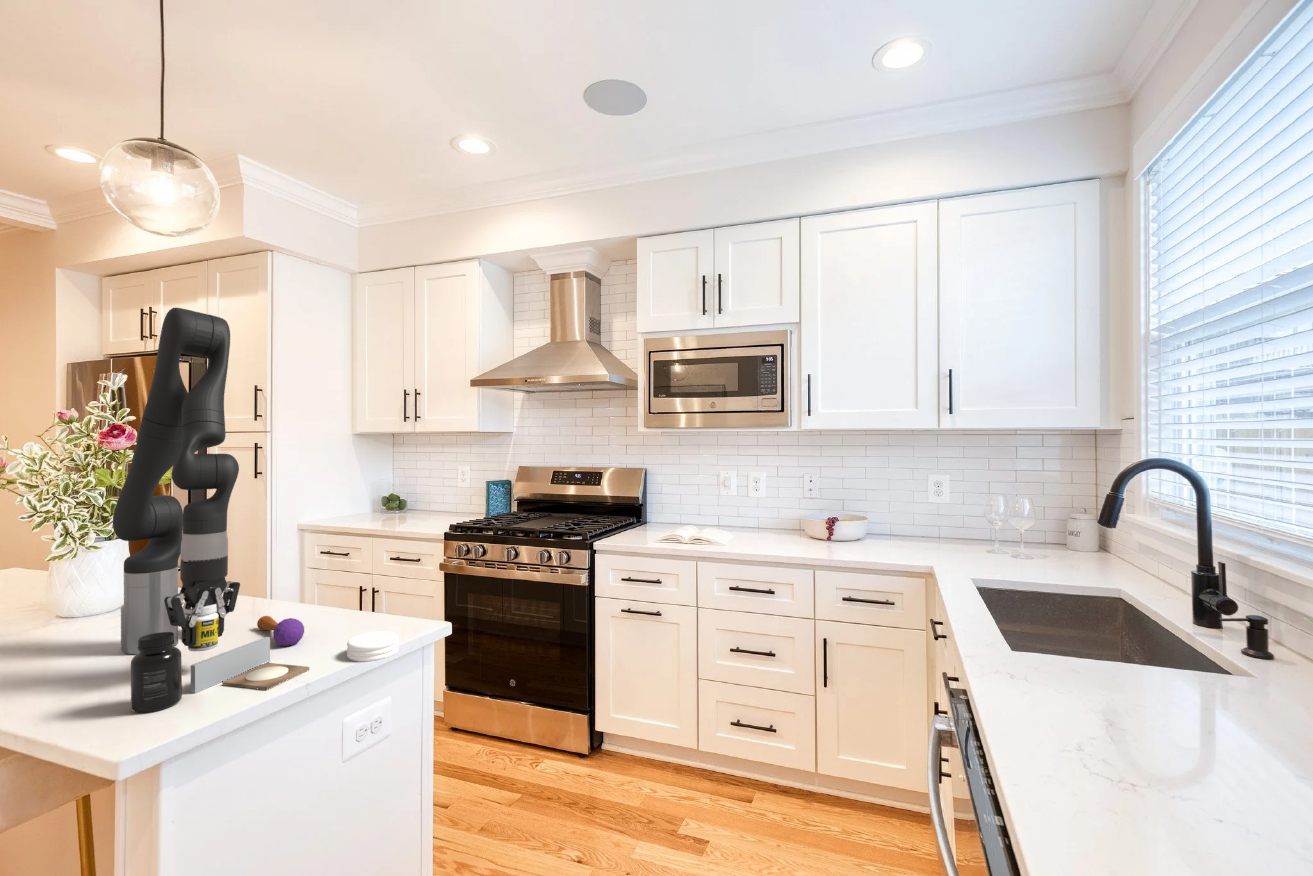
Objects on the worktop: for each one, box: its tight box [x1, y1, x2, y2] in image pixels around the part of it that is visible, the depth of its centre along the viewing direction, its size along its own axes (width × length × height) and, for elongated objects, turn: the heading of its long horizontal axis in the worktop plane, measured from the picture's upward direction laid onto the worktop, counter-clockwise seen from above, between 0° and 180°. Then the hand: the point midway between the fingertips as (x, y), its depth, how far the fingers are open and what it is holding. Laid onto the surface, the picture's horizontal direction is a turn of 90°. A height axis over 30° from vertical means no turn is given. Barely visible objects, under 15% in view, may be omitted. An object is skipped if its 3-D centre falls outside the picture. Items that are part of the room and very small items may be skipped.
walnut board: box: [221, 662, 310, 691], centre depth 118 cm, size 10×10×1 cm
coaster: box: [346, 630, 400, 663], centre depth 131 cm, size 10×10×4 cm
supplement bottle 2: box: [187, 603, 219, 652], centre depth 120 cm, size 5×5×8 cm
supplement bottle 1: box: [130, 632, 183, 714], centre depth 105 cm, size 7×7×12 cm
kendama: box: [256, 615, 305, 647], centre depth 141 cm, size 6×6×20 cm
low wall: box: [190, 636, 271, 694], centre depth 118 cm, size 1×16×5 cm, turn 167°
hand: (203, 640), depth 120 cm, fingers closed on supplement bottle 2, 4 cm apart
